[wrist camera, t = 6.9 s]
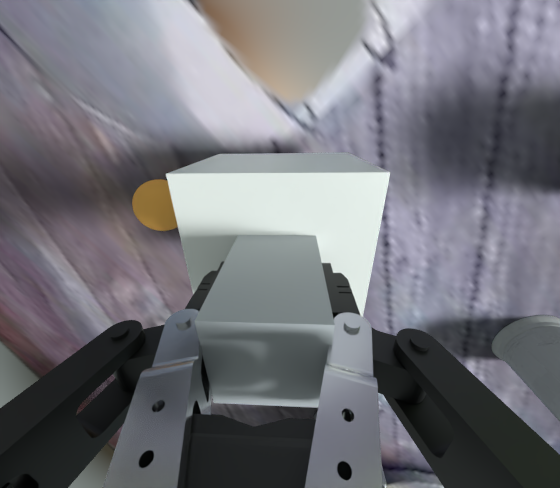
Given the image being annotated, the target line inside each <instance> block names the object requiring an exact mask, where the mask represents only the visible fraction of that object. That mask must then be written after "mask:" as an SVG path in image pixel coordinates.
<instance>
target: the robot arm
mask: <svg viewBox="0 0 560 488" xmlns="http://www.w3.org/2000/svg"><path fill="white" fill-rule="evenodd" d="M224 262H225V261H222V262H221V264H220V266H219V268H218V270H217V271H211V272H209V273H208V274H207V275H205V276H204V278H203V279H202V281H201V283H200V285H199V286H198V288H197V290H196V291H195V293H194V294H193V296H192V298H191V299H190V301H189V303H188V305H187V306H186V308H185V309H184V310H180V311H178V312H176V313H174V314H173V315H171V316H170V317H169V318H168V319H167V321H166V322H165V325H161V326H157V327H152V328H147V329H143V328H142V325H141V323H140V322H138V321H135V320H128V321H123V322H120V323H117V324H115V325H113V326H111V327H110V328H108V329H107V330H105V331H104V332H103V333H101V334H100V335H99V336H97V337H96V338H95V339H93V340H92V341H91V342H89V343H88V344H87V345H85V346H84V347H83V348H81V349H80V350H78V351H77V352H76V353H74V354H73V355H72V356H70V357H69V358H68V359H66V360H65V361H64V362H62V363H61V364H60V365H58V366H57V367H56V368H54V369H53V370H51V371H50V372H49V373H47V374H46V375H45V376H43V377H42V378H41V379H39V380H38V381H37V382H35V383H34V384H33V385H31V386H30V387H29V388H27V389H26V390H24V391H23V392H22V393H21V394H19V395H18V396H16V397H15V398H14V399H12V400H11V401H10V402H8V403H7V404H6V405H4V406H3V407H2V408H0V488H68V487H69V486H70V485H71V483H72V482H73V481H74V480H75V479H76V478H77V477H78V475H79V474H80V473H81V472H82V471H83V470H84V469H85V467H86V466H87V465H88V464H89V463H90V461H92V459H93V458H94V457H95V456H96V455H97V454H98V452H99V451H100V450H101V449H102V448H103V447H104V446H105V444H106V443H107V442H108V441H109V440H110V439H111V437H112V436H113V435H114V434H115V433H116V432H117V431H118V429H119V428H120V427H121V426H122V425H123V424H124V425H123V428H122V431H121V434H120V437H119V440H118V443H117V446H116V449H115V452H114V455H113V458H112V461H111V464H110V467H109V470H108V473H107V476H106V479H105V482H104V485H103V488H387V485H386V480H385V477H384V473H383V469H382V465H381V447H380V426H379V405H378V393H381V394H383V395H384V397H385V398H386V400H387V401H388V403H389V405H390V406H391V408H392V409H393V411H394V412H395V414H396V415H397V417H398V418H399V420H400V421H401V423H402V424H403V426H404V427H405V429H406V430H407V432H408V433H409V435H410V436H411V438H412V439H413V441H414V442H415V444H416V445H417V447H418V448H419V450H420V451H421V453H422V454H423V456H424V457H425V459H426V461H427V462H428V464H429V465H430V467H431V468H432V470H433V471H434V473H435V474H436V476H437V477H438V479H439V480H440V482H441V483H442V485H443V486H444V488H560V455H559V454H558V453H557V452H556V451H555V450H554V449H553V448H552V447H551V446H550V445H549V444H547V443H546V442H545V441H544V440H543V439H542V438H541V437H540V436H539V435H538V434H537V433H536V432H535V431H533V430H532V429H531V428H530V427H529V426H528V425H527V424H526V423H525V422H524V421H523V420H522V419H521V418H519V417H518V416H517V415H516V414H515V413H514V412H513V411H512V410H511V409H510V408H509V407H508V406H506V405H505V404H504V403H503V402H502V401H501V400H500V399H499V398H498V397H497V396H496V395H495V394H494V393H492V392H491V391H490V390H489V389H488V388H487V387H486V386H485V385H484V384H483V383H482V382H481V381H479V380H478V379H477V378H476V377H475V376H474V375H473V374H472V373H471V372H470V371H469V370H468V369H467V368H465V367H464V366H463V365H462V364H461V363H460V362H459V361H458V360H457V359H456V358H455V357H454V356H452V355H451V354H450V353H449V352H448V351H447V350H446V349H445V348H444V347H443V346H442V345H441V344H440V343H438V342H437V341H436V340H435V339H434V338H433V337H431V336H430V335H428V334H427V333H425V332H422V331H420V330H416V329H403V330H401V331H399V332H398V334H397V336H394V335H390V334H386V333H383V332H380V331H377V330H375V329H373V328H371V325H370V324H369V322H368V321H367V320H366V319H365V318H363V317H362V316H361V315H360V312H359V309H358V307H357V304H356V301H355V298H354V295H353V294H352V290H351V288H350V284H349V281H348V279H347V278H346V277H345V276H344V275H343V274H342V273H333V270H332V266H331V263H322V266H323V271H324V276H325V281H326V285H327V290H328V295H329V300H330V304H331V309H332V314H333V319H334V323H335V328H334V336H333V344H332V345H329V349H328V355H327V361H326V364H325V369H324V375H323V381H322V387H321V393H320V399H319V405H318V411H317V412H316V414H315V415H314V418H313V419H293V418H289V419H285V420H281V421H277V422H273V423H269V424H265V425H261V426H256V427H252V426H249V425H246V424H244V423H241V422H238V421H236V420H233V419H230V418H228V417H225V416H222V415H211V394H212V388H211V384H210V381H209V380H208V376H207V372H206V367H205V363H204V359H203V355H202V352H203V350H202V346H201V342H200V341H199V338H198V334H197V330H196V326H195V319H196V317H197V315H198V313H199V311H200V309H201V307H202V305H203V303H204V301H205V299H206V297H207V295H208V293H209V291H210V289H211V288H212V286H213V284H214V282H215V280H216V278H217V276H218V274H219V272H220V270H221V268H222V266H223V264H224ZM112 374H113V375H114V377H115V380H114V381H112V382H111V383H110V384H109V385H108V386H107V387H106V388H105V389H104V390H103V391H102V392H101V393H100V394H99V395H98V396H97V397H96V398H95V399H93V400H92V401H91V402H90V403H89V404H88V405H87V406H86V407H85V408H84V409H83V410H82V411H81V412H80V413H79V414H78V415H76V412H77V409H78V407H79V406H80V404H81V403H82V402H83V401H84V400H85V399H86V398H87V397H88V396H89V395H90V394H91V393H92V392H93V391H94V390H96V389H97V388H98V387H99V386H100V385H101V384H102V383H103V382H104V381H105V380H106V379H107V378H109V377H110V376H111V375H112Z"/></svg>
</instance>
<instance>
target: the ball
mask: <svg viewBox="0 0 560 488" xmlns="http://www.w3.org/2000/svg"><path fill="white" fill-rule="evenodd" d="M132 206H133V211H134V213H135V215H136V217H137V218H138V220H139V221H140V222H141V223H142V224H144V225H145V226H147V227H149V228H151V229H154V230H158V231H167V230H172V229H175V228H177V227H178V225H177V221H176V216H175V212H174V207H173V203H172V199H171V194H170V190H169V185H168V181H167V180H161V179H156V180H150V181H148V182H145V183H144V184H142V185H141V186H140V187H139V188H138V189H137V190H136V192H135V193H134V196H133V200H132Z"/></svg>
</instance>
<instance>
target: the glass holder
mask: <svg viewBox="0 0 560 488" xmlns="http://www.w3.org/2000/svg"><path fill="white" fill-rule="evenodd" d="M492 351H493V353H494V354H495V355H496V356H497V357H498V358H499V359H501V360H503V361H505V362H506V363H507V364H508V365H509V366H510V367H511V368H512V369H513V370H514V371H515V373H516V374H517V375H518V376H519V377H520V378H521V379H522V380H523V381H524V383H525V384H526V385H527V386H528V387H529V388H530V389H531V390H532V391H533V393H534V394H535V395H536V396H537V397H538V398H539V399H540V400H541V401H542V403H543V404H544V405H545V406H546V407H547V408H548V409H549V410H550V411H551V413H552V414H553V415H554V416H555V417H556V418H557V419H558V420H559V421H560V319H559V318H557V317H554V316H549V315H536V316H530V317H526V318H522V319H520V320H517V321H515V322H513V323H511V324H509V325H507V326H506V327H504V328H503V329H502V330H501V331H500V332H499V333H498V334H497V335H496V336H495V338H494V339H493V342H492Z"/></svg>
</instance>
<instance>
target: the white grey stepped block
mask: <svg viewBox="0 0 560 488" xmlns="http://www.w3.org/2000/svg"><path fill="white" fill-rule="evenodd" d="M166 177H167V181H168V185H169V190H170V194H171V199H172V203H173V207H174V212H175V216H176V221H177V225H178V229H179V234H180V238H181V243H182V247H183V252H184V256H185V260H186V265H187V269H188V274H189V278H190V282H191V287H192V291H193V294H194V293H195V291H196V290H197V288H198V286H199V285H200V283H201V281H202V279H203V278H204V276H205V275H207V274H208V273H209V272H211V271H217V270H218V268H219V266H220V264H221V262H222V261H225V262H224V264H223V266H222V268H221V270H220V272H219V274H218V276H217V278H216V280H215V282H214V284H213V286H212V288H211V289H210V291H209V293H208V295H207V297H206V299H205V301H204V303H203V305H202V307H201V309H200V311H199V313H198V315H197V317H196V319H195V326H196V330H197V334H198V338H199V341H200V342H201V346H202V350H203V352H202V355H203V359H204V363H205V367H206V372H207V376H208V380H209V381H210V384H211V388H212V397H213V401H214V403H226V404H248V405H270V406H292V407H315V408H318V405H319V399H320V393H321V387H322V381H323V375H324V369H325V364H326V361H327V355H328V349H329V345H332V344H333V336H334V328H335V323H334V319H333V314H332V309H331V304H330V300H329V295H328V290H327V285H326V281H325V276H324V271H323V266H322V263H331V266H332V270H333V273H342V274H343V275H344V276H345V277H346V278H347V279H348V281H349V284H350V288H351V290H352V294H353V295H354V298H355V301H356V304H357V307H358V309H359V312H360V315H361V316H362V317H363V312H364V307H365V302H366V297H367V292H368V286H369V281H370V276H371V271H372V266H373V260H374V255H375V250H376V245H377V239H378V234H379V229H380V224H381V219H382V213H383V208H384V203H385V198H386V193H387V187H388V182H389V177H390V172H389V171H386V170H384V169H382V168H380V167H378V166H376V165H374V164H371V163H369V162H367V161H365V160H363V159H361V158H359V157H357V156H354V155H352V154H350V153H265V154H218V155H215V156H212V157H210V158H207V159H204V160H202V161H199V162H196V163H193V164H191V165H188V166H185V167H183V168H180V169H177V170H174V171H172V172H169V173H166Z"/></svg>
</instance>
